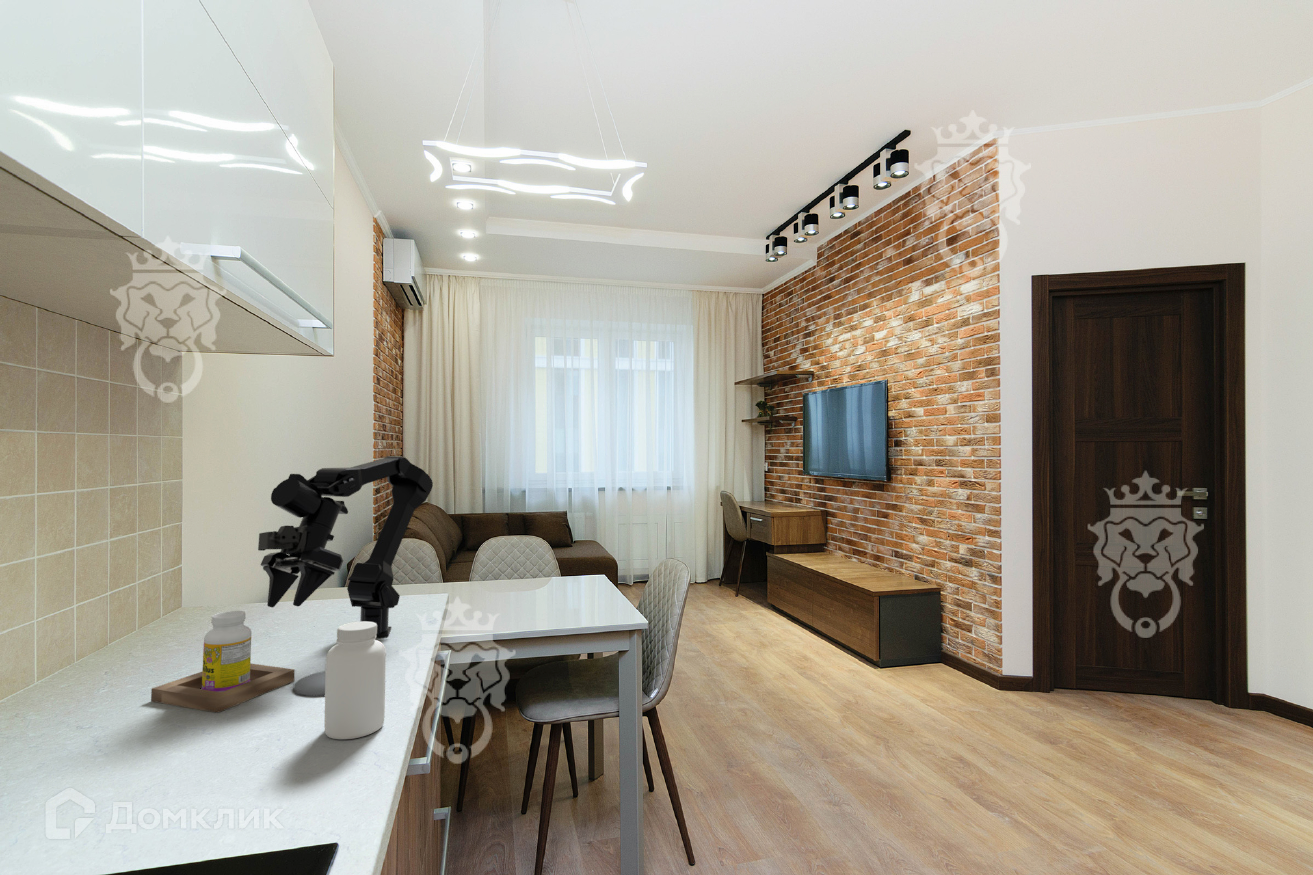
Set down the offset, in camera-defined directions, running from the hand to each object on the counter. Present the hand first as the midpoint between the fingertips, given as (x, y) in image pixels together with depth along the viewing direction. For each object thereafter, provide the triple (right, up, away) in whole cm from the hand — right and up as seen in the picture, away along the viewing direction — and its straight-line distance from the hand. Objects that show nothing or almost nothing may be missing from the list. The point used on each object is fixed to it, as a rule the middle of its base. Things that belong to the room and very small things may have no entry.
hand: (282, 606), depth 113 cm
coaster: (+12, -12, -6) cm, 18 cm away
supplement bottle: (-4, -12, -10) cm, 16 cm away
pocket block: (-4, -11, -10) cm, 15 cm away
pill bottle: (+25, -12, -23) cm, 36 cm away
